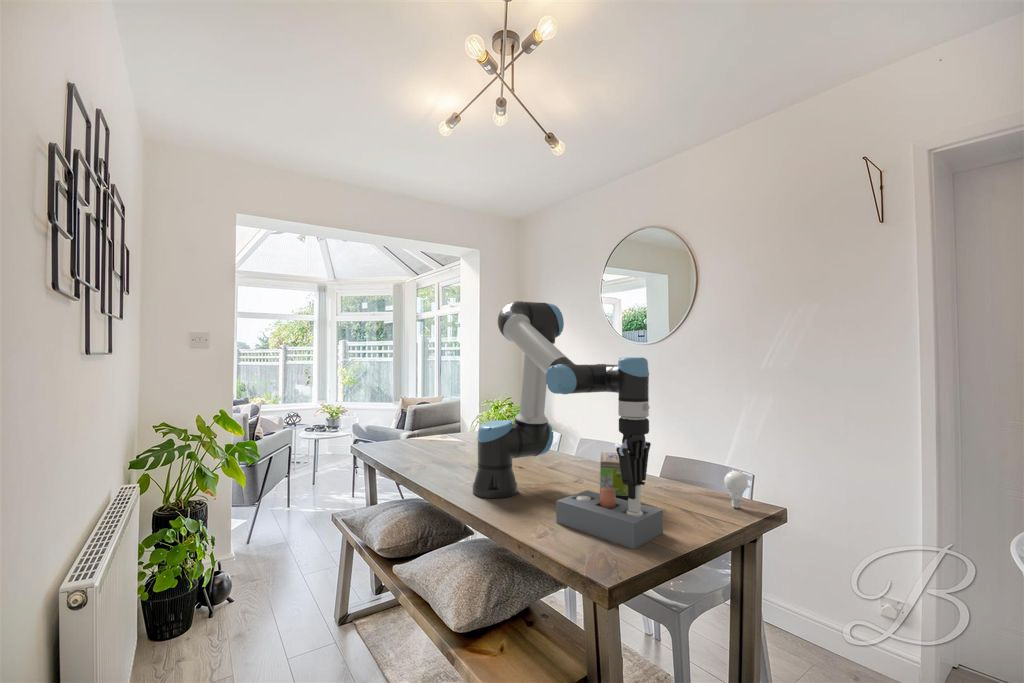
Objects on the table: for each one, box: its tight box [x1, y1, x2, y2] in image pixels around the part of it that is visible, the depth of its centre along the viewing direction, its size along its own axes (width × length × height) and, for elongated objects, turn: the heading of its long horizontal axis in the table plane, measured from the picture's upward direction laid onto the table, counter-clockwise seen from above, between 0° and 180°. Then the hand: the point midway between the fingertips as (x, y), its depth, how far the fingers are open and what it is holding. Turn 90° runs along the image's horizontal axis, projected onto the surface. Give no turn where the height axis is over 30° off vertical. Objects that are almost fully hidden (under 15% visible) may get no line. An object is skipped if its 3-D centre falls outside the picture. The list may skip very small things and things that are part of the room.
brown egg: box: [599, 487, 616, 509], centre depth 121 cm, size 4×4×6 cm
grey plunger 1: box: [576, 496, 591, 502], centre depth 126 cm, size 4×4×6 cm
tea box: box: [599, 451, 628, 501], centre depth 140 cm, size 15×10×15 cm
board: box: [555, 489, 664, 550], centre depth 121 cm, size 24×14×6 cm, turn 44°
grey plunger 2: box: [626, 510, 643, 517], centre depth 115 cm, size 4×4×6 cm
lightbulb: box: [724, 470, 749, 510], centre depth 136 cm, size 6×6×11 cm
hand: (634, 510), depth 115 cm, fingers closed
